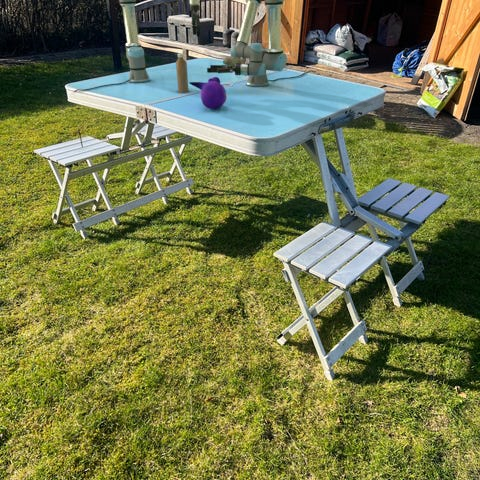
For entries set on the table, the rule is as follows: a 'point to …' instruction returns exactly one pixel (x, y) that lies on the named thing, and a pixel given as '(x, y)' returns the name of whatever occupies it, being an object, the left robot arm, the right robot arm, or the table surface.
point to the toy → (211, 93)
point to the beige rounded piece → (233, 60)
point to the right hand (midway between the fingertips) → (208, 68)
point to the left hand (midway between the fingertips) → (196, 35)
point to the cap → (180, 55)
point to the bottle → (182, 75)
